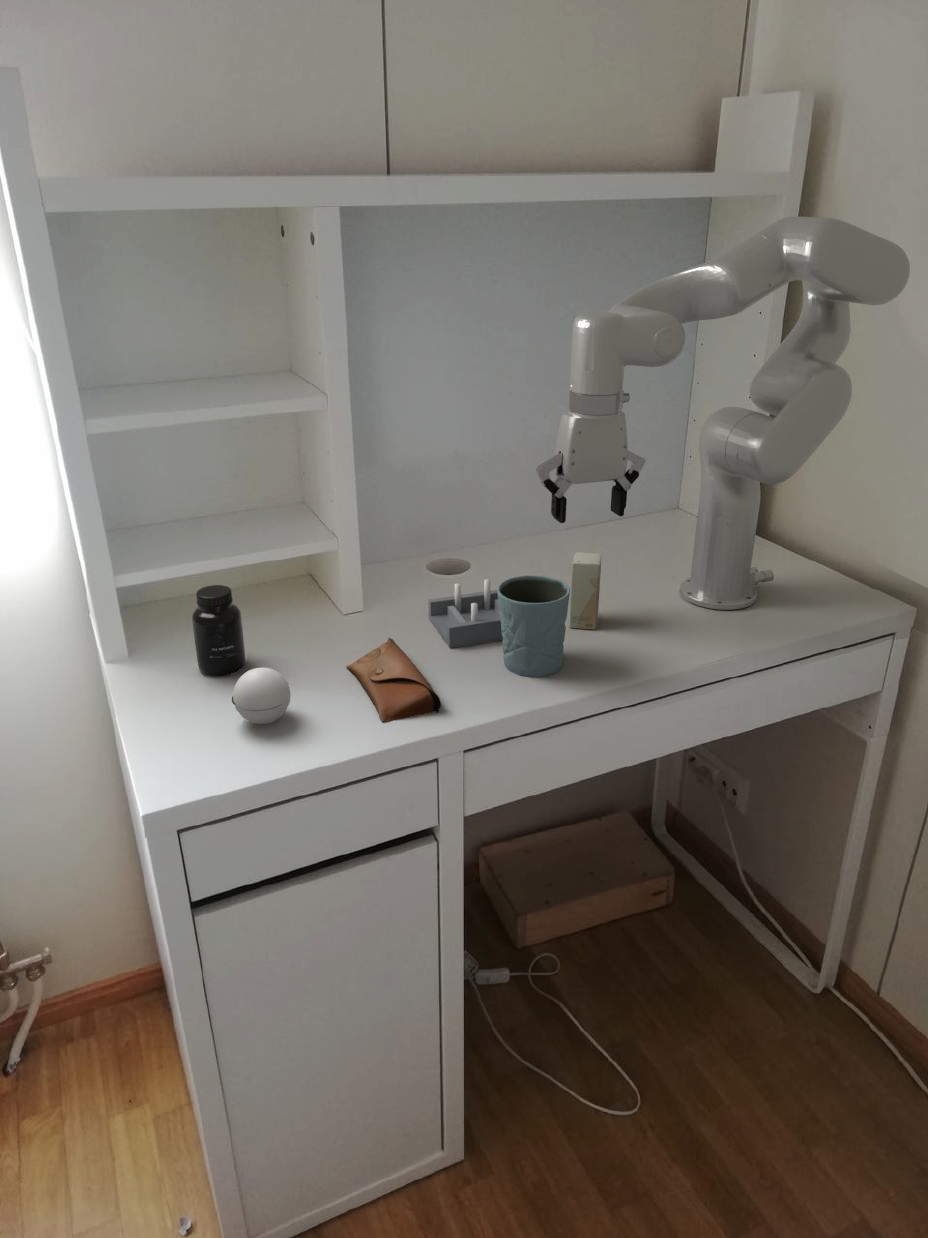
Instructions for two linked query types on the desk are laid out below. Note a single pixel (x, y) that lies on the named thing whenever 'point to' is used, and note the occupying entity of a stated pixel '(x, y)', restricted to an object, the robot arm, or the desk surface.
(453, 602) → the tray
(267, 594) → the desk surface
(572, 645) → the desk surface
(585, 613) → the box
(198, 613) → the supplement bottle
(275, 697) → the white ball
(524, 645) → the teal embossed cup
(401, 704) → the sunglasses case
